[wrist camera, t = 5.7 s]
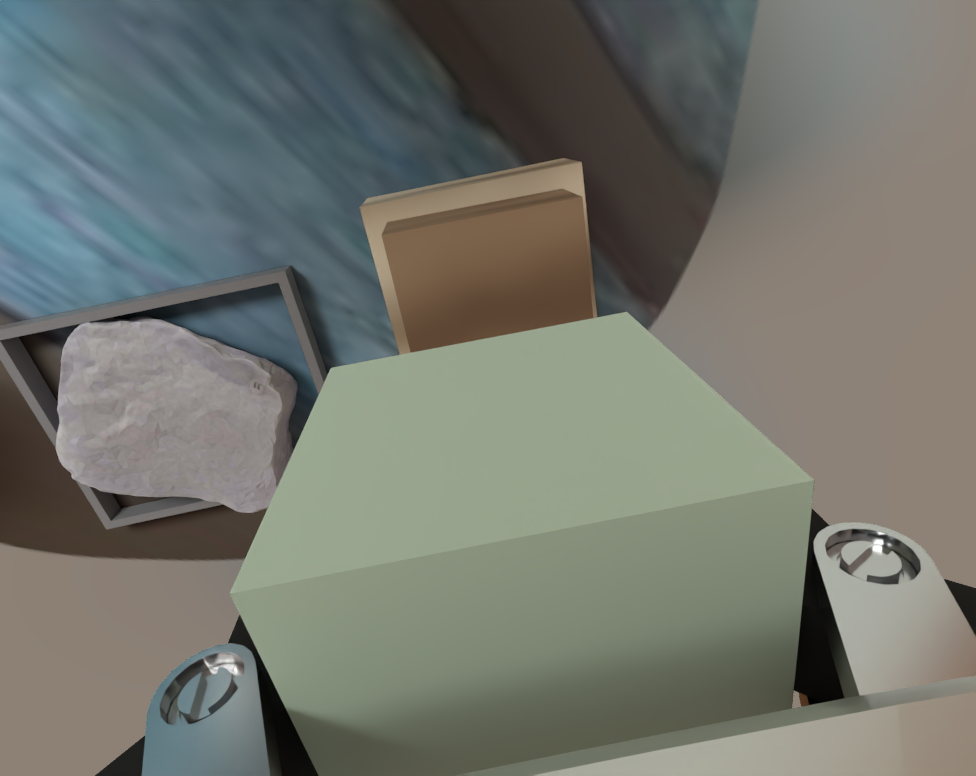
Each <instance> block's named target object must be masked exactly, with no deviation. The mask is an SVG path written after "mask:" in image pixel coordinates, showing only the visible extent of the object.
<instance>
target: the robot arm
mask: <svg viewBox="0 0 976 776" xmlns="http://www.w3.org/2000/svg"><path fill="white" fill-rule="evenodd" d="M794 690H795V691H797V692H799V698H800V703H801V707H798V708H793V709H787V710H782V711H777V712H772V713H767V714H762V715H756V716H751V717H746V718H741V719H736V720H731V721H726V722H720V723H715V724H710V725H705V726H700V727H695V728H690V729H684V730H679V731H674V732H669V733H664V734H659V735H654V736H649V737H644V738H639V739H634V740H629V741H624V742H619V743H614V744H609V745H604V746H599V747H594V748H589V749H584V750H579V751H574V752H569V753H564V754H559V755H554V756H549V757H544V758H539V759H534V760H529V761H524V762H519V763H514V764H509V765H504V766H499V767H494V768H489V769H484V770H479V771H474V772H469V773H465V774H460V775H455V776H976V588H973V587H970V586H966V585H963V584H959V583H956V582H952V581H949V580H946V579H943V577H942V576H941V574H940V572H939V570H938V569H937V567H936V565H935V563H934V561H933V560H932V558H931V557H930V556H929V555H928V553H927V552H926V551H925V550H924V548H923V547H921V546H920V545H919V544H917V543H916V542H915V541H913V540H912V539H910V538H909V537H907V536H905V535H903V534H901V533H898V532H896V531H894V530H892V529H889V528H885V527H882V526H878V525H875V524H868V523H860V522H847V523H838V524H834V525H831V526H829V525H828V524H827V523H826V522H825V521H824V520H823V519H822V518H821V517H820V516H819V515H818V514H817V513H816V512H815V511H814V510H813V509H812V511H811V521H810V531H809V541H808V551H807V561H806V571H805V581H804V591H803V601H802V611H801V621H800V631H799V642H798V652H797V662H796V672H795V682H794ZM95 776H319V775H318V773H317V771H316V769H315V767H314V765H313V763H312V761H311V759H310V757H309V755H308V753H307V751H306V749H305V747H304V745H303V743H302V741H301V739H300V737H299V735H298V733H297V730H296V728H295V726H294V724H293V722H292V720H291V718H290V716H289V714H288V712H287V710H286V708H285V706H284V704H283V702H282V700H281V698H280V696H279V694H278V692H277V690H276V688H275V685H274V683H273V681H272V679H271V677H270V675H269V673H268V671H267V669H266V667H265V665H264V663H263V661H262V659H261V657H260V655H259V653H258V651H257V649H256V647H255V645H254V643H253V640H252V638H251V636H250V634H249V632H248V630H247V628H246V626H245V624H244V622H243V620H242V618H241V616H240V615H239V617H238V620H237V622H236V625H235V627H234V630H233V632H232V635H231V637H230V639H229V642H228V644H222V645H217V646H214V647H211V648H208V649H205V650H203V651H201V652H199V653H197V654H196V655H194V656H192V657H190V658H189V659H187V660H186V661H184V662H183V663H182V664H181V665H179V666H178V667H177V668H176V669H174V670H173V671H172V672H171V673H170V674H169V675H168V676H167V678H166V679H165V680H164V681H163V682H162V683H161V684H160V686H159V687H158V689H157V691H156V693H155V694H154V696H153V698H152V699H151V702H150V706H149V709H148V714H147V722H146V733H145V736H144V737H143V738H141V739H140V740H139V741H138V742H136V743H135V744H134V745H133V746H131V747H130V748H129V749H128V750H126V751H125V752H124V753H123V754H121V755H120V756H119V757H118V758H116V759H115V760H114V761H113V762H111V763H110V764H109V765H108V766H107V767H105V768H104V769H103V770H102V771H100V772H99V773H98V774H96V775H95Z"/></svg>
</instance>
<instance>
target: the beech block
mask: <svg viewBox="0 0 976 776" xmlns="http://www.w3.org/2000/svg"><path fill="white" fill-rule="evenodd" d="M558 189H565V190H567V191H570V192H572V193H574V194H577V195H579V196H582V197H583V208H584V219H585V230H586V241H587V253H588V264H589V275H590V286H591V297H592V308H593V318H597V310H596V300H595V290H594V280H593V270H592V260H591V250H590V240H589V230H588V220H587V210H586V200H585V190H584V180H583V170H582V162H579V161H575V160H570V159H565V158H561V159H556V160H552V161H547V162H542V163H537V164H532V165H527V166H522V167H517V168H513V169H508V170H503V171H498V172H493V173H488V174H483V175H478V176H474V177H469V178H464V179H459V180H454V181H449V182H444V183H439V184H435V185H430V186H425V187H420V188H415V189H410V190H405V191H400V192H395V193H391V194H386V195H381V196H376V197H371V198H367V199H366V200H365V202H364V203H363V204H362V205H361V206H360V211H361V215H362V218H363V222H364V226H365V229H366V233H367V237H368V240H369V244H370V248H371V251H372V255H373V259H374V262H375V266H376V270H377V273H378V277H379V281H380V284H381V288H382V292H383V295H384V299H385V303H386V306H387V310H388V313H389V317H390V321H391V324H392V328H393V332H394V335H395V339H396V343H397V346H398V350H399V354H400V355H402V354H407V353H411V352H410V348H409V344H408V340H407V336H406V332H405V328H404V324H403V320H402V316H401V312H400V308H399V304H398V300H397V296H396V292H395V288H394V284H393V280H392V275H391V271H390V267H389V263H388V259H387V255H386V251H385V247H384V243H383V239H382V233H383V231H384V228H385V226H386V224H387V222H390V221H395V220H400V219H405V218H411V217H416V216H421V215H426V214H432V213H437V212H442V211H447V210H453V209H458V208H463V207H468V206H474V205H479V204H484V203H489V202H495V201H500V200H505V199H511V198H516V197H521V196H526V195H532V194H537V193H542V192H547V191H553V190H558Z"/></svg>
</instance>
